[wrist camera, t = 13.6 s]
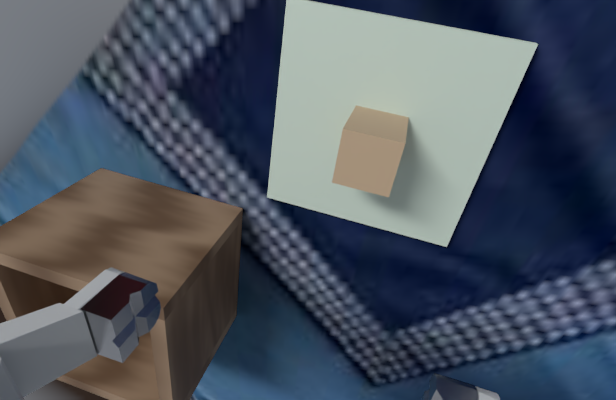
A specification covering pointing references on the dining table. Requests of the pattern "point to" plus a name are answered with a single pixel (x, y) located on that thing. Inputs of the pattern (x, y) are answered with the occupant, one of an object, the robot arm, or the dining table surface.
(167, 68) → the dining table surface
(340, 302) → the dining table surface
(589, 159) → the dining table surface
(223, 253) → the box
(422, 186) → the lid
